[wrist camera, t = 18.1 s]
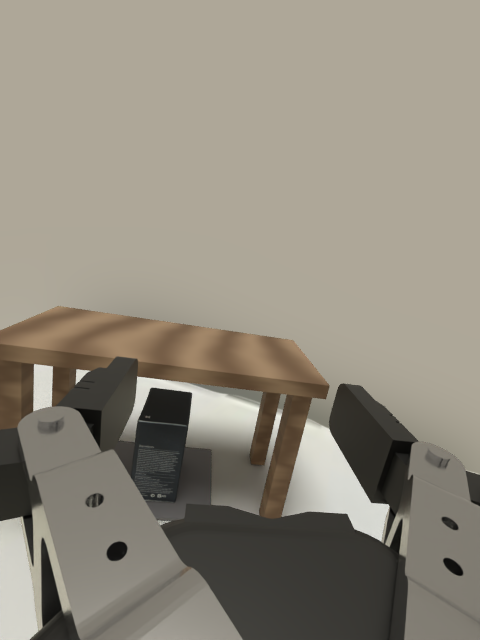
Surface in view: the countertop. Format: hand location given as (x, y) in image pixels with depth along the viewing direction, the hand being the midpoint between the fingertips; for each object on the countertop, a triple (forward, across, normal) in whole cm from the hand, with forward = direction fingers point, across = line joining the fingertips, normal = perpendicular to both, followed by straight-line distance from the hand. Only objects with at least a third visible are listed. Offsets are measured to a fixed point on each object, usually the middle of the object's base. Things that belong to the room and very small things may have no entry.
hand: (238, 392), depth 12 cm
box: (+22, +5, +25) cm, 34 cm away
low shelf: (+22, +5, +25) cm, 34 cm away
